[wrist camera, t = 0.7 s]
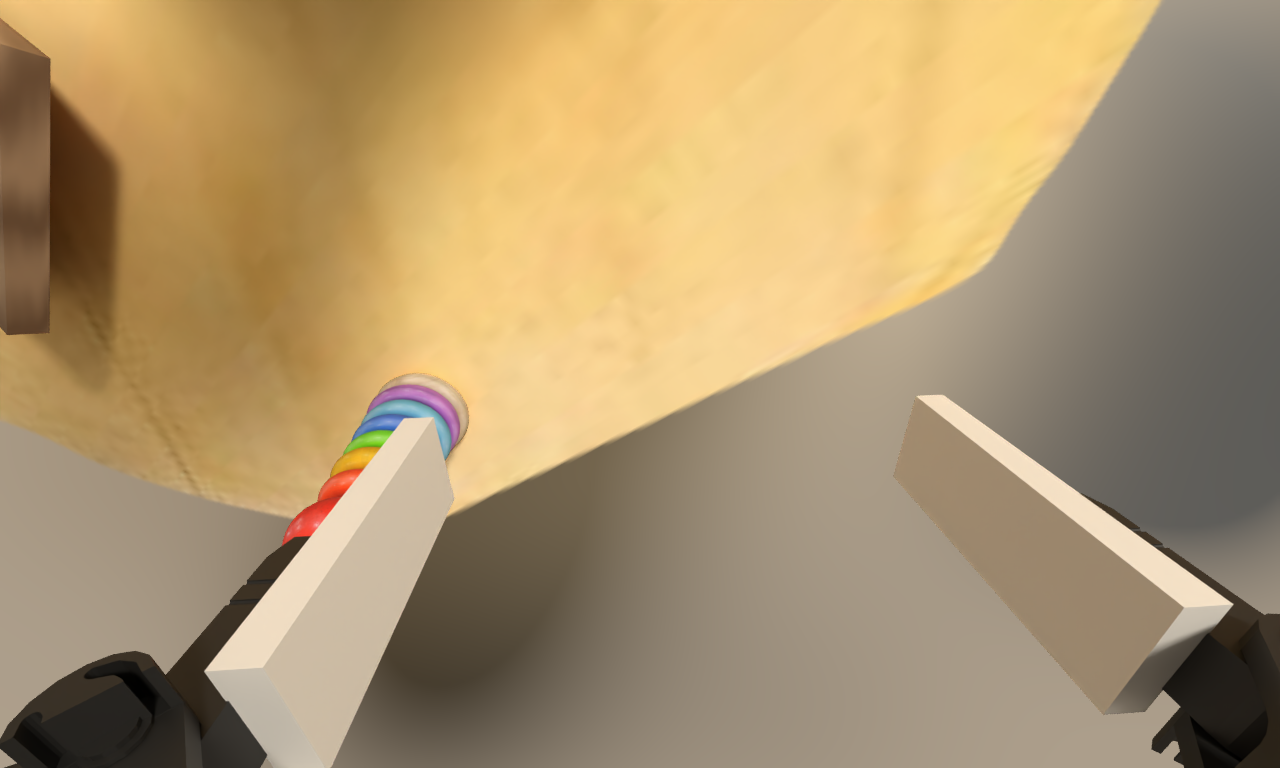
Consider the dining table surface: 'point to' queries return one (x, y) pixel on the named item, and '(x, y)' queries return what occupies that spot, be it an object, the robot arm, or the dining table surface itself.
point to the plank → (24, 185)
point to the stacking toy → (383, 417)
